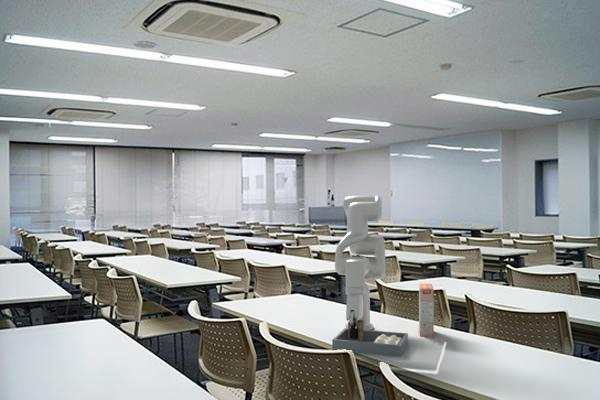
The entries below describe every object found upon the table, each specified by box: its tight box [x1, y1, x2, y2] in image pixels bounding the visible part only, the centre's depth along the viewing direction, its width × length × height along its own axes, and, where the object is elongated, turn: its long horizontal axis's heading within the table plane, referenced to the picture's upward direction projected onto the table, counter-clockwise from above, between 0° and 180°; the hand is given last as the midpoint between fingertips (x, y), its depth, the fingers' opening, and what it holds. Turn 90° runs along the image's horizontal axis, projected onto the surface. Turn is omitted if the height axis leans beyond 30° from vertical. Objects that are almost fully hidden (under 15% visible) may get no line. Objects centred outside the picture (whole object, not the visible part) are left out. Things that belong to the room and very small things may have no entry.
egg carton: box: [374, 334, 401, 345], centre depth 202 cm, size 11×9×4 cm
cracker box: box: [418, 283, 435, 339], centre depth 225 cm, size 14×6×21 cm, turn 168°
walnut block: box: [347, 319, 364, 341], centre depth 206 cm, size 5×5×7 cm
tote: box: [331, 328, 409, 358], centre depth 204 cm, size 18×26×5 cm
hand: (355, 336), depth 206 cm, fingers closed on walnut block, 5 cm apart
